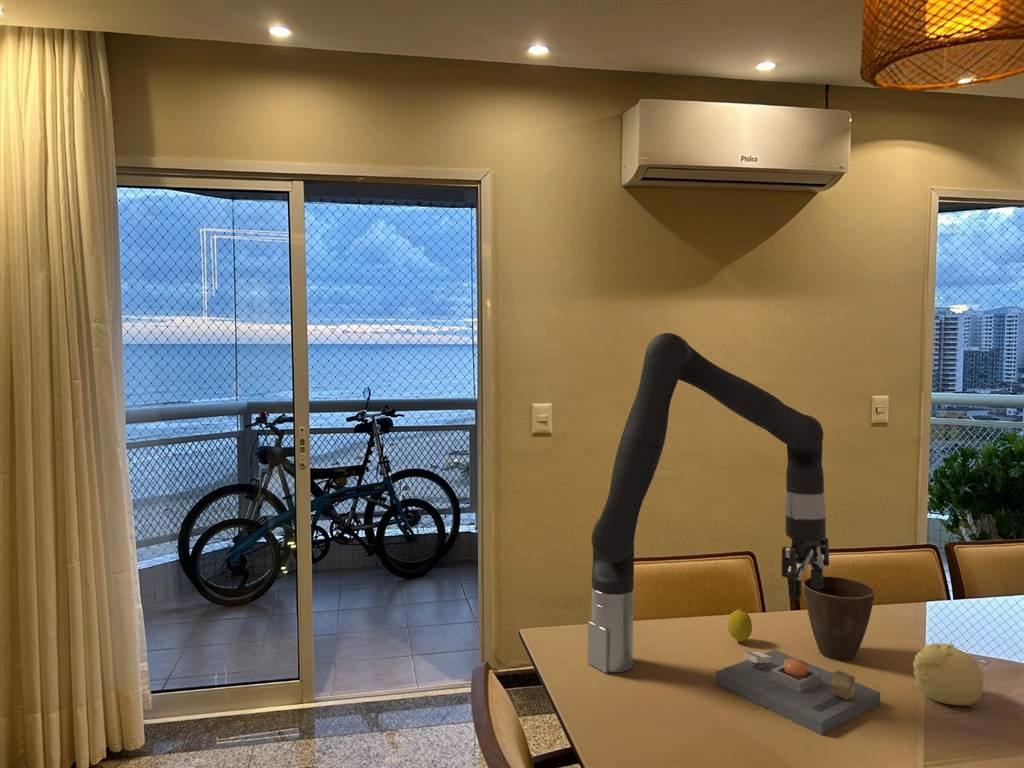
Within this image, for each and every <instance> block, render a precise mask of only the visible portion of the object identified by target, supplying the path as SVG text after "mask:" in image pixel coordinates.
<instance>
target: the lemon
mask: <svg viewBox="0 0 1024 768" xmlns="http://www.w3.org/2000/svg"><path fill="white" fill-rule="evenodd" d="M727 629H728V632H729V635H730V636H731V637H732V638H733V639H735V640H736V641H737V643H742V642H743V641H745V640H747V639H749V638H750V636H751V634H752V630H753V623H752V619H751V617H750V615H749V614H748V613H747V612H746V611H744V610H742V609H741V608H738V609H736V610H734V611H733V612H731V614H730V615H729V617H728V621H727Z"/></svg>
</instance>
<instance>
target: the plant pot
mask: <svg viewBox="0 0 1024 768" xmlns="http://www.w3.org/2000/svg"><path fill="white" fill-rule="evenodd" d="M802 585H803V592H804V593H803V594H804V599H805V604H806V611H807V615H808V618H809V619H808V620H809V624H810V626H811V630H812V633H813V636H814V640H815V643H816V645H817V648H818V652H819V653H820V654H821V655H822V656H823V657H825V658H828V659H831V660H833V659H834V660H835V661H839V660H840V662H848V661H847V660H849V661H852V659H853V660H854V659H855V658H856V656H857V654H858V652H859V650H860V647H861V644H862V642H863V640H864V637H865V635H866V631H867V629H868V625H869V623H870V622H869V621H870V618H871V615H872V609H873V603H874V599H875V590H874V588H873V587H872V586H870V585H868V584H866V583H864V582H861V581H858V580H854V579H850V578H845V577H837V576H824V575H823V588H822V589H815V588H812V587H811V577H809V578H805V579H804V581H803V582H802Z"/></svg>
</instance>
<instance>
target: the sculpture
mask: <svg viewBox="0 0 1024 768" xmlns="http://www.w3.org/2000/svg"><path fill="white" fill-rule="evenodd" d="M912 664H913V665H912V667H913V675H914V676H915V681H916V684H917V687H918V688H919V689H920V690H921V691H922V692H923V693H924V695H925V696H927V698H929V699H930V700H932V701H934V702H936V703H937V702H938V703H942V704H946V705H952V706H962V707H964V706H967V707H968V706H972V705H974V704H975V703H976V702H977V701H979V699H980V697H981V695H982V693H983V690H984V689H983V687H984V677H983V672H982V670H981V668H980V666H979V665H978V663H977V662H976V660H975V659H974V658H973V657H972V656H971V655H970V654H968V653H966V652H965V651H963V650H961V649H958V648H956V646H954V645H953V644H952V643H932V642H931V643H930V644H925V645H924V647H923V648H922V649H921V650H920V651H918V652H917V654H916V655H914V661H913V663H912Z"/></svg>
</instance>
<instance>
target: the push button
mask: <svg viewBox="0 0 1024 768" xmlns="http://www.w3.org/2000/svg"><path fill="white" fill-rule="evenodd" d="M805 662H806V661H803V660H801V659H799V660H798V658H796V659H786V660H785V661H784V673H785V674H787V675H789V676H791V677H795V678H804V677H806V676H807V663H808V662H806V663H805Z"/></svg>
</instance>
